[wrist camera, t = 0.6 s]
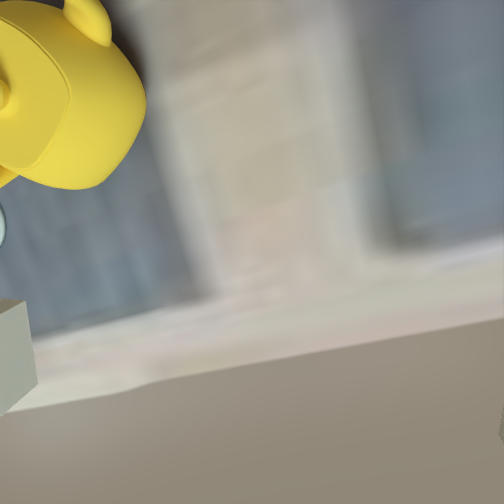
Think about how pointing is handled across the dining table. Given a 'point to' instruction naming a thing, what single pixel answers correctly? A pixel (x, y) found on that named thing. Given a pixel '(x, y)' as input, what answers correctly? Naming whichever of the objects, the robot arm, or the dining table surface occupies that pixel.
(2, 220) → the egg cup
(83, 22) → the teapot
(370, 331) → the dining table surface
